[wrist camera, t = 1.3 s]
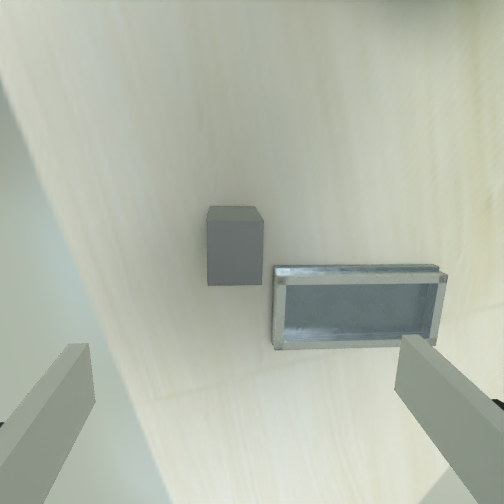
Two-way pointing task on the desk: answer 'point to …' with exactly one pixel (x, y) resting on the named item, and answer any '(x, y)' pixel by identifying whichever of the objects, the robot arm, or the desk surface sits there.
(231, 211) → the block
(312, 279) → the shallow grey tray
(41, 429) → the robot arm
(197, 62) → the desk surface
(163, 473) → the desk surface
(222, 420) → the desk surface
